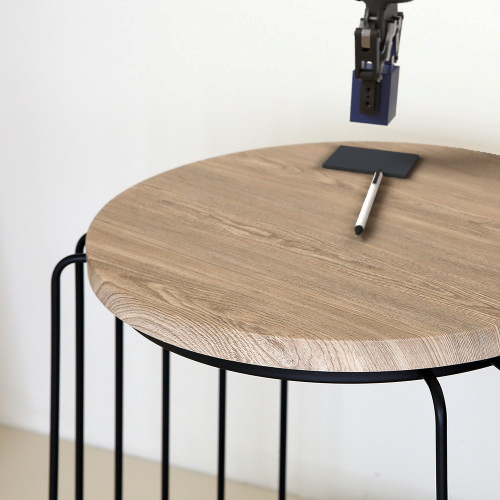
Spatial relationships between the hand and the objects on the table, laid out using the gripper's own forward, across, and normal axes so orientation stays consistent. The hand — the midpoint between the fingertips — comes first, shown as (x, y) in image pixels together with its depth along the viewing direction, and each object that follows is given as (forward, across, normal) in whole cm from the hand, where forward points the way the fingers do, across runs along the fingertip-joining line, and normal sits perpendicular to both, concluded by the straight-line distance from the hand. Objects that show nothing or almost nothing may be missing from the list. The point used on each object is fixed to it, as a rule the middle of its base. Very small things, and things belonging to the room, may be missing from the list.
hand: (374, 107), depth 94 cm
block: (+1, 0, 0) cm, 1 cm away
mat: (+7, 0, 0) cm, 7 cm away
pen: (+7, -14, -3) cm, 15 cm away
